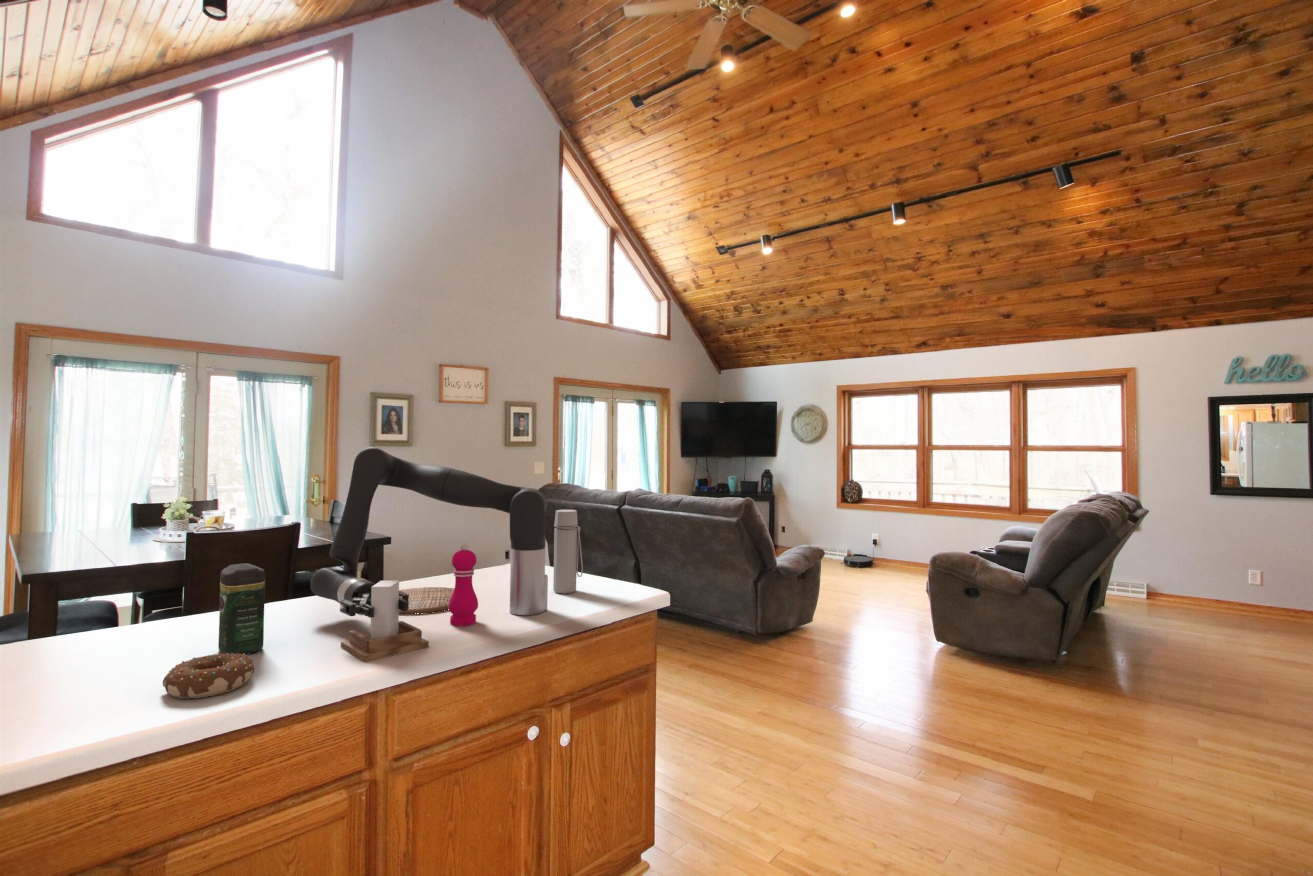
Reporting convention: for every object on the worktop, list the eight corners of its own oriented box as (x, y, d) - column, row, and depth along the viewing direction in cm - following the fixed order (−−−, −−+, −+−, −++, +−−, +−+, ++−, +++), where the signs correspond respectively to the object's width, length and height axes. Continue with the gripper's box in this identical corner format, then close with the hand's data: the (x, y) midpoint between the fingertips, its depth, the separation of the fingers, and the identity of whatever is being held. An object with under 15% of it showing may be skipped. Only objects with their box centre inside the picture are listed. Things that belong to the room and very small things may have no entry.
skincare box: (379, 632, 144) (380, 580, 144) (398, 632, 144) (399, 580, 144) (369, 641, 138) (370, 586, 138) (389, 641, 138) (390, 586, 138)
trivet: (379, 596, 188) (379, 589, 188) (467, 591, 195) (467, 585, 195) (368, 619, 164) (368, 611, 164) (468, 612, 171) (468, 605, 171)
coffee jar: (267, 651, 136) (269, 565, 136) (224, 660, 131) (226, 570, 131) (256, 641, 143) (258, 559, 143) (214, 648, 138) (216, 563, 138)
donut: (262, 688, 117) (262, 661, 117) (169, 710, 107) (170, 680, 107) (243, 668, 127) (244, 643, 127) (157, 686, 117) (158, 659, 117)
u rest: (402, 634, 150) (402, 618, 150) (428, 646, 141) (428, 630, 141) (340, 647, 140) (341, 630, 140) (364, 661, 131) (364, 644, 131)
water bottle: (549, 594, 192) (550, 511, 192) (557, 588, 199) (558, 509, 199) (578, 595, 190) (579, 512, 190) (585, 589, 198) (586, 509, 198)
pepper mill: (469, 628, 156) (470, 546, 156) (442, 625, 157) (443, 545, 157) (482, 620, 163) (484, 542, 163) (457, 618, 164) (458, 541, 165)
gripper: (327, 584, 145) (356, 598, 134) (389, 575, 156) (421, 587, 144) (327, 616, 145) (355, 633, 134) (389, 605, 156) (420, 620, 144)
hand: (389, 609), depth 139 cm, fingers closed on skincare box, 7 cm apart
